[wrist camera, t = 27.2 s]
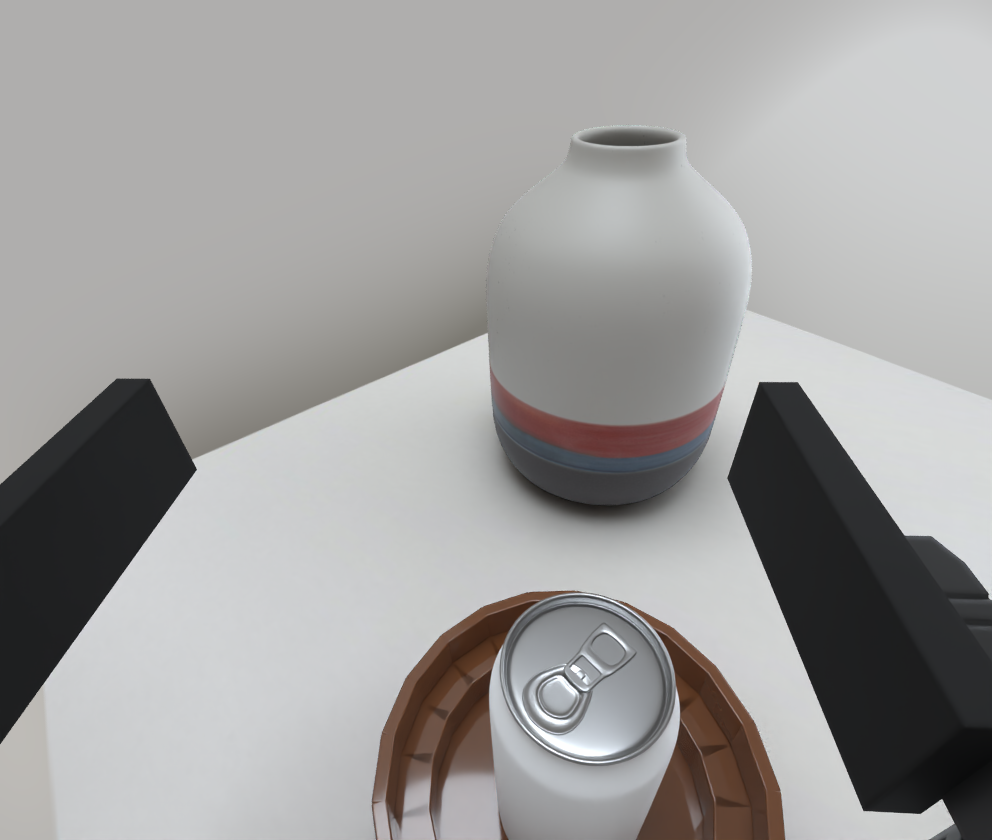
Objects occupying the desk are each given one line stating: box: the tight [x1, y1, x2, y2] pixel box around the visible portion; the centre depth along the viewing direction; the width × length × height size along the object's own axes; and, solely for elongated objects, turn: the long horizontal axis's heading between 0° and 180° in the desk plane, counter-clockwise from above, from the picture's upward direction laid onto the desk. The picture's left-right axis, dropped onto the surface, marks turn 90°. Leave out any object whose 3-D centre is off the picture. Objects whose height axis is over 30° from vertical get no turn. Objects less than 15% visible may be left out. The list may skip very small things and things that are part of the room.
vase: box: [486, 125, 752, 505], centre depth 37 cm, size 17×17×24 cm
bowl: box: [372, 591, 785, 840], centre depth 24 cm, size 16×16×5 cm
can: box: [489, 592, 680, 840], centre depth 21 cm, size 6×6×12 cm
